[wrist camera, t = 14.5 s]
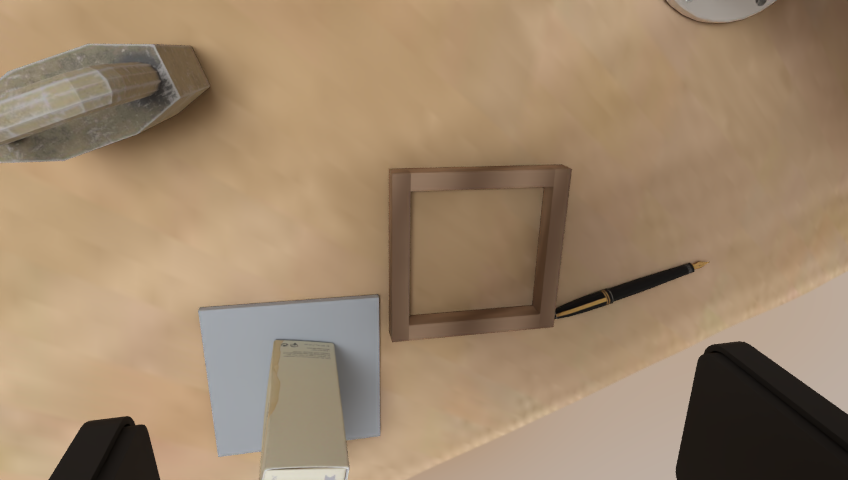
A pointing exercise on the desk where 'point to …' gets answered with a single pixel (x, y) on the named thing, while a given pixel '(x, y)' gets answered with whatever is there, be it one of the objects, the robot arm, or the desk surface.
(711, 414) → the robot arm
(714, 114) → the desk surface
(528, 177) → the collar
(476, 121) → the desk surface
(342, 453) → the skincare box
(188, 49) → the padlock
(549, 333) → the desk surface
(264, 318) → the rubber mat
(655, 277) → the fountain pen
